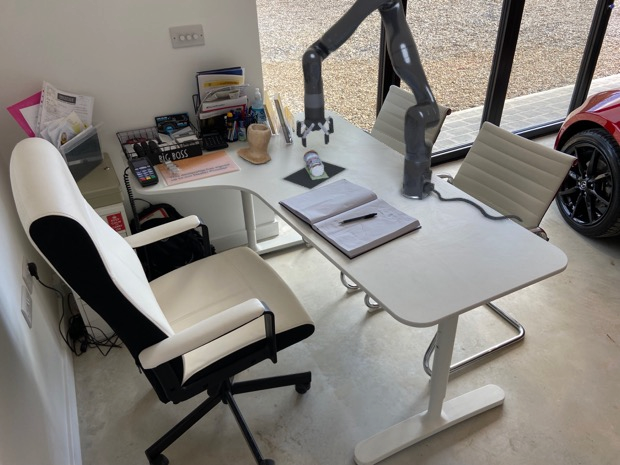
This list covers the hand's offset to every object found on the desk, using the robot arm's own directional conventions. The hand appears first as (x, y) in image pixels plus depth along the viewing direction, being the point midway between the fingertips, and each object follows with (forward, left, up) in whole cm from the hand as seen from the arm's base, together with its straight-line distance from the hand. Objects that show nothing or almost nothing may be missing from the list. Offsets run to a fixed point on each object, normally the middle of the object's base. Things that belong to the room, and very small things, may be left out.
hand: (315, 145), depth 192 cm
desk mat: (0, +1, -12) cm, 12 cm away
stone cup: (+30, +4, -12) cm, 33 cm away
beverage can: (+6, -4, -8) cm, 11 cm away
